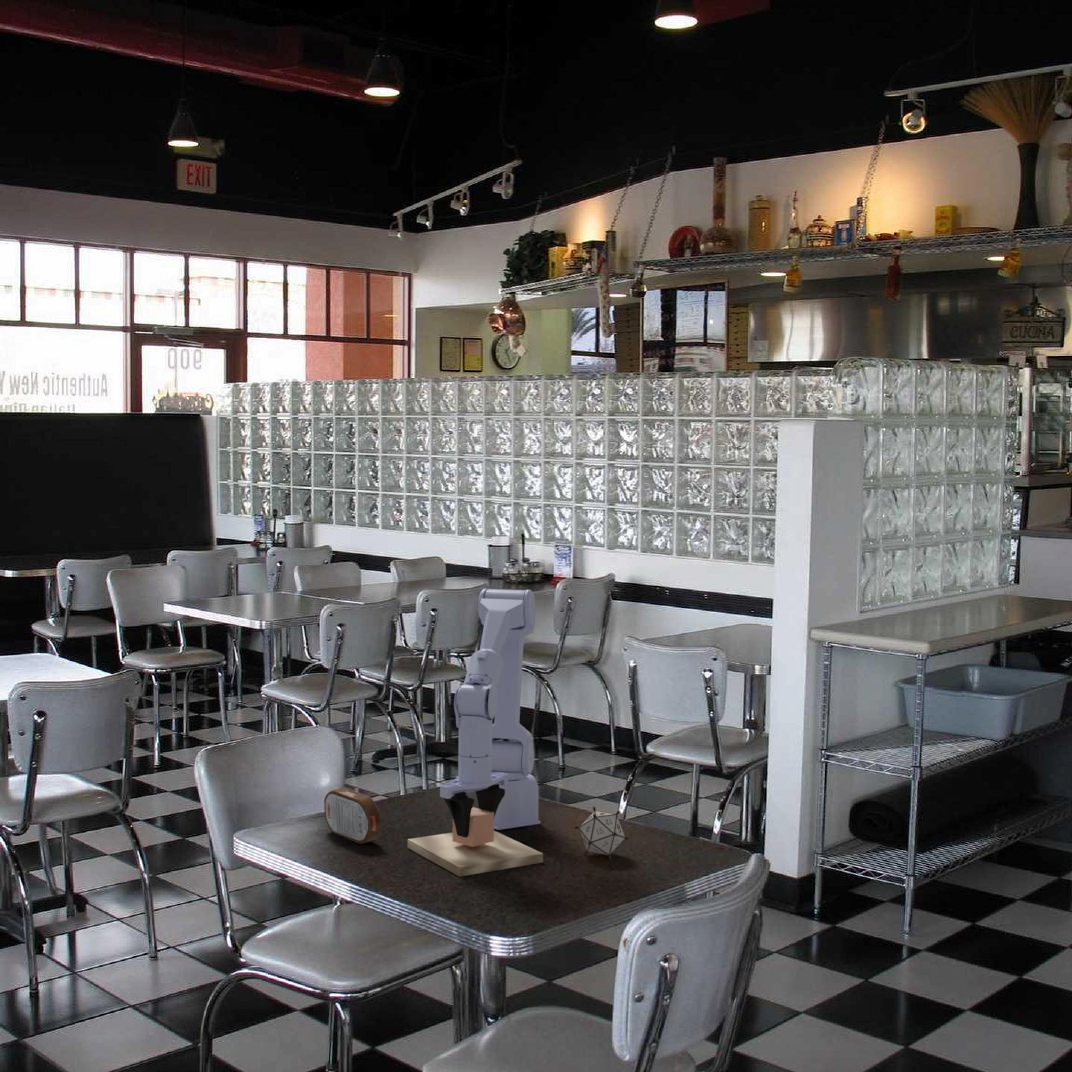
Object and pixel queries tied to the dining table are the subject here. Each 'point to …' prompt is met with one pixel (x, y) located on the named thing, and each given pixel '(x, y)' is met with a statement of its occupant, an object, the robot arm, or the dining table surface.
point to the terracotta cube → (477, 828)
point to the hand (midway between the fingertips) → (474, 832)
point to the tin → (352, 815)
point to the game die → (601, 832)
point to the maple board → (474, 854)
